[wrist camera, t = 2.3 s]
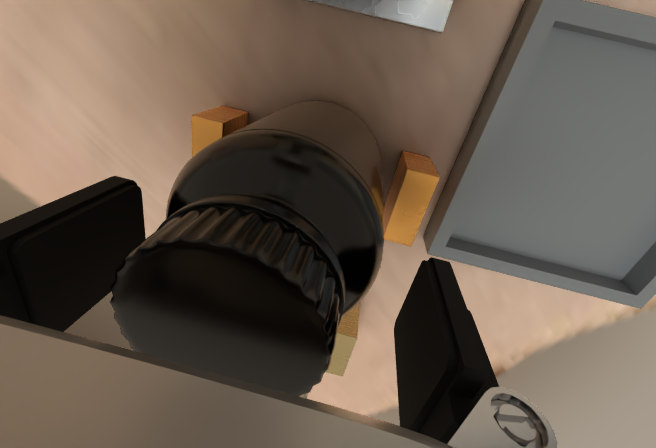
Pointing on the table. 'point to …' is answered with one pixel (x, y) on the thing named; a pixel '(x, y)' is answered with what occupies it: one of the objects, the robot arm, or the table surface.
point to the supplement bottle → (260, 250)
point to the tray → (562, 157)
